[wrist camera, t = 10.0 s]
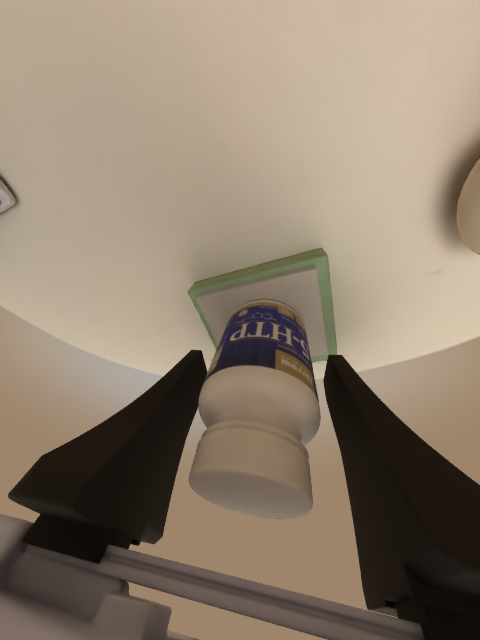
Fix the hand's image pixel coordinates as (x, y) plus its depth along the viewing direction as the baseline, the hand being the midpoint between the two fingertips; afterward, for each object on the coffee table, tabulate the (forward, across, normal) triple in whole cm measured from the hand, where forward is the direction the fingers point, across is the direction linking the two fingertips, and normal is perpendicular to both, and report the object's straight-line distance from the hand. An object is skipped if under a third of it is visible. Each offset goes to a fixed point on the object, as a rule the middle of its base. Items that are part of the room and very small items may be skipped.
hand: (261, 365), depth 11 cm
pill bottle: (+3, 0, 0) cm, 3 cm away
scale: (+5, 0, 0) cm, 5 cm away
